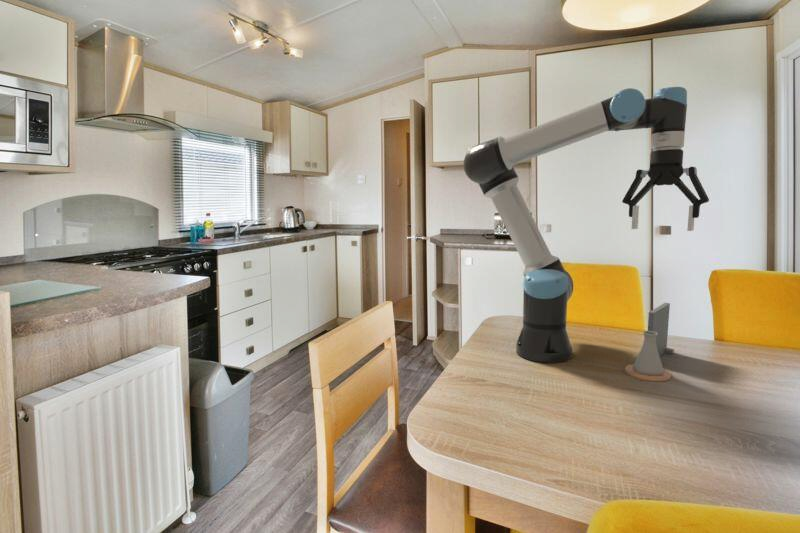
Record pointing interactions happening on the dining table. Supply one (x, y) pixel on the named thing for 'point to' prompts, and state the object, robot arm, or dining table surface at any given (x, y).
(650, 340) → the flask
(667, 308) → the screen
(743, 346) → the dining table surface
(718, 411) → the dining table surface
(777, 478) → the dining table surface
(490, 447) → the dining table surface
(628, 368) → the coaster
